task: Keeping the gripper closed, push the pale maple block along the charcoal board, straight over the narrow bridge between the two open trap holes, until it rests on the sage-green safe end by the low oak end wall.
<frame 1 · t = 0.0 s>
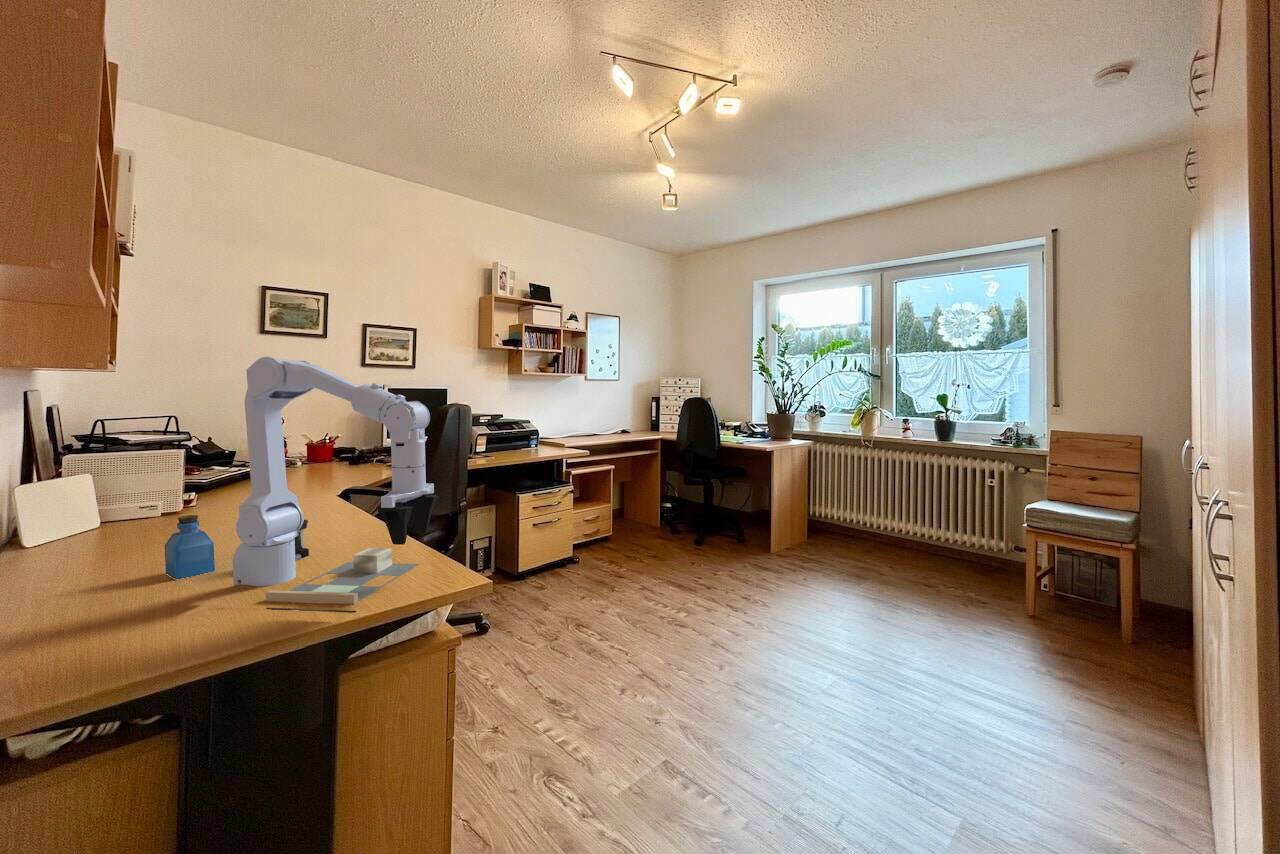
hand: (410, 538, 93), 10 cm above the table, tool pointing down, fingers open, 7 cm apart
maple block: (373, 568, 102), point 1 cm above the table, touching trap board
perfume bottle: (190, 574, 104), on the table
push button: (291, 563, 111), on the table
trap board: (351, 588, 95), on the table
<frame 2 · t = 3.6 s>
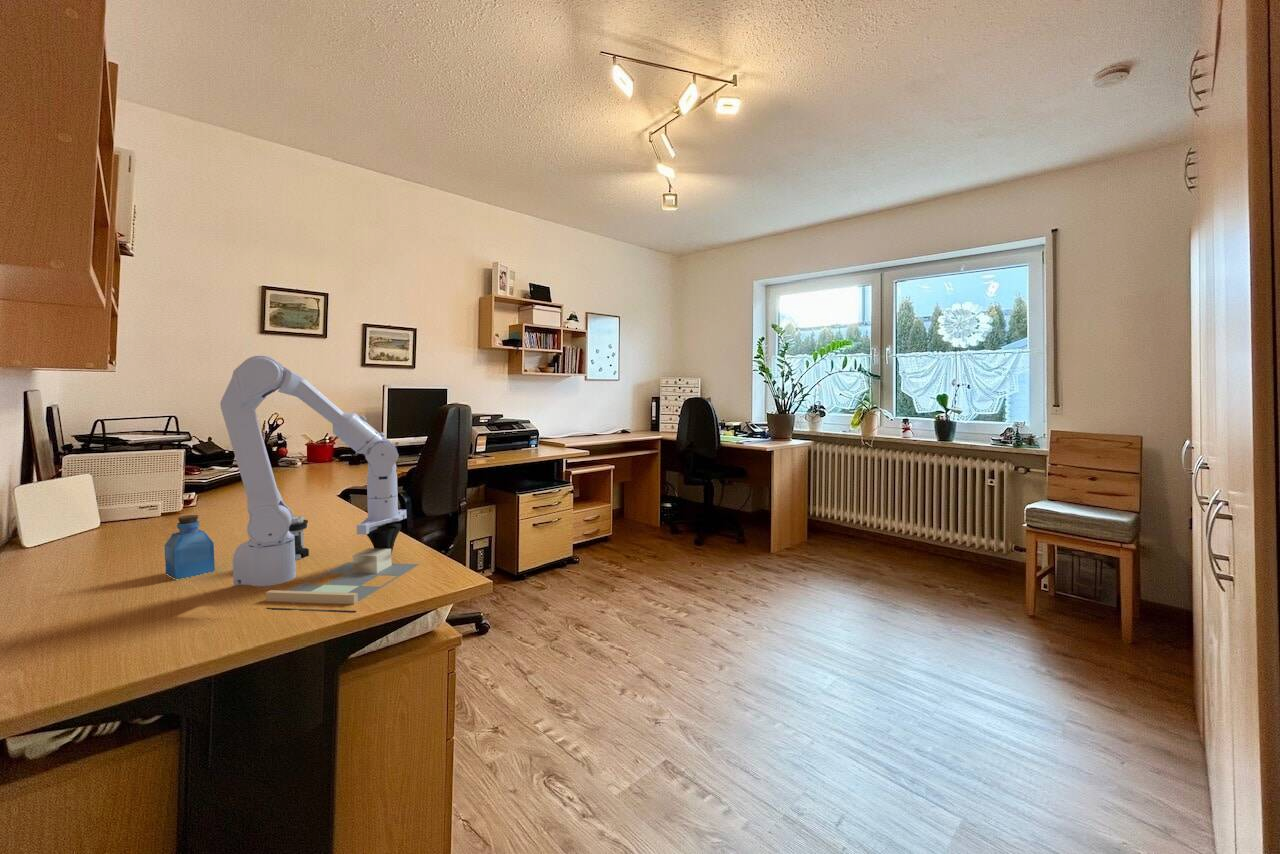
hand: (384, 559, 106), 2 cm above the table, tool pointing down, fingers closed
maple block: (372, 568, 102), point 2 cm above the table, touching gripper
everything else where it was.
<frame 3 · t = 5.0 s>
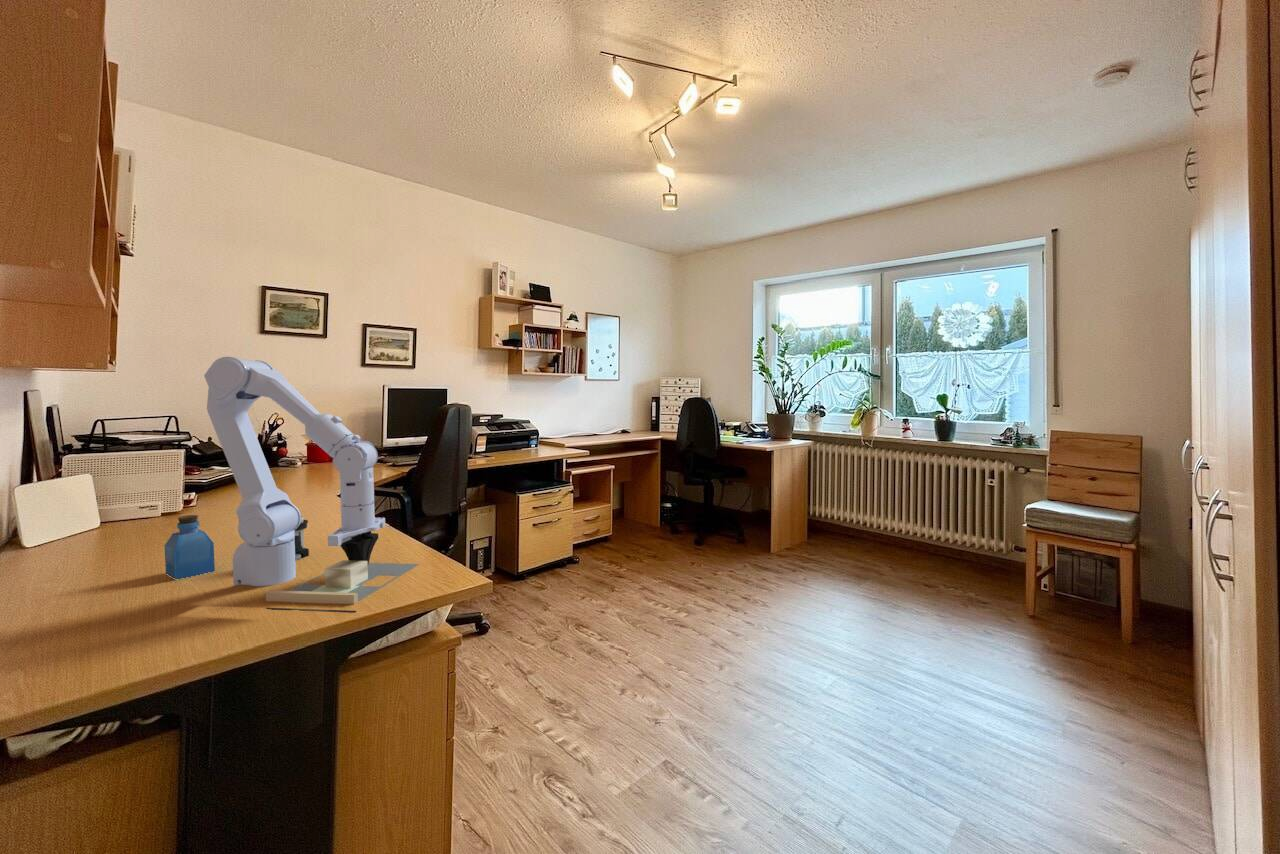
hand: (359, 572, 98), 2 cm above the table, tool pointing down, fingers closed
maple block: (347, 583, 94), point 2 cm above the table, touching gripper, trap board
everything else where it was.
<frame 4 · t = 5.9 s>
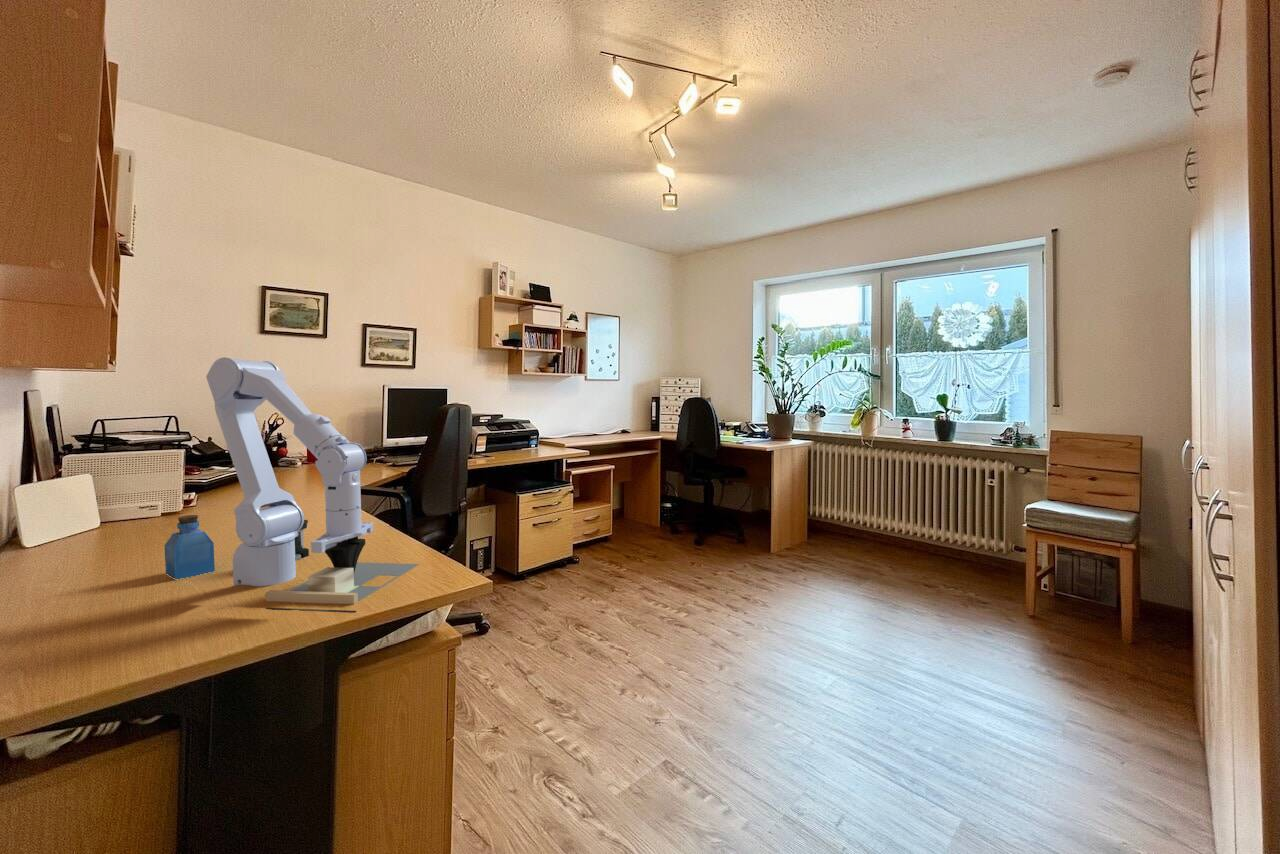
hand: (345, 579, 94), 2 cm above the table, tool pointing down, fingers closed
maple block: (331, 591, 90), point 2 cm above the table, touching gripper
everything else where it was.
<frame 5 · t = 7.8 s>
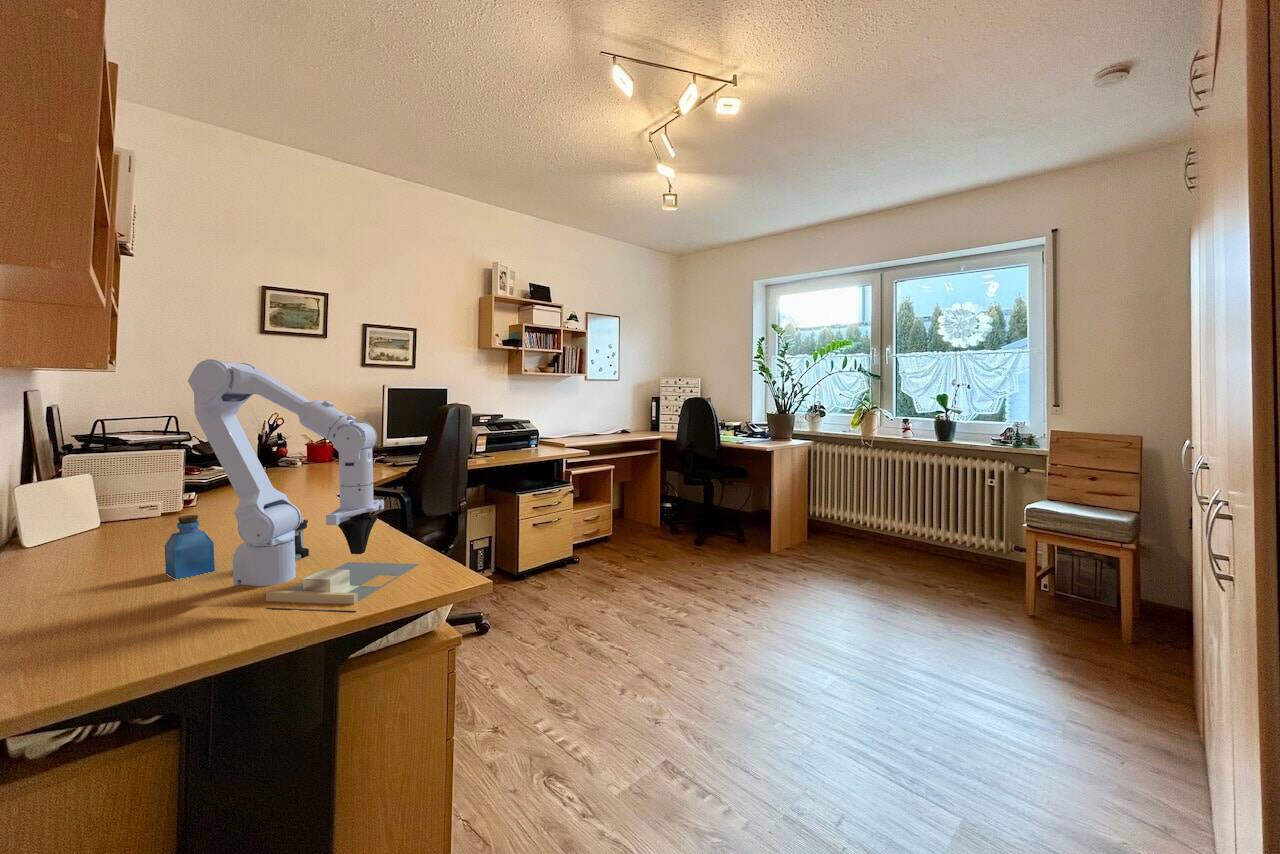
hand: (357, 553, 97), 6 cm above the table, tool pointing down, fingers closed
maple block: (327, 593, 89), point 1 cm above the table, touching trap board
everything else where it was.
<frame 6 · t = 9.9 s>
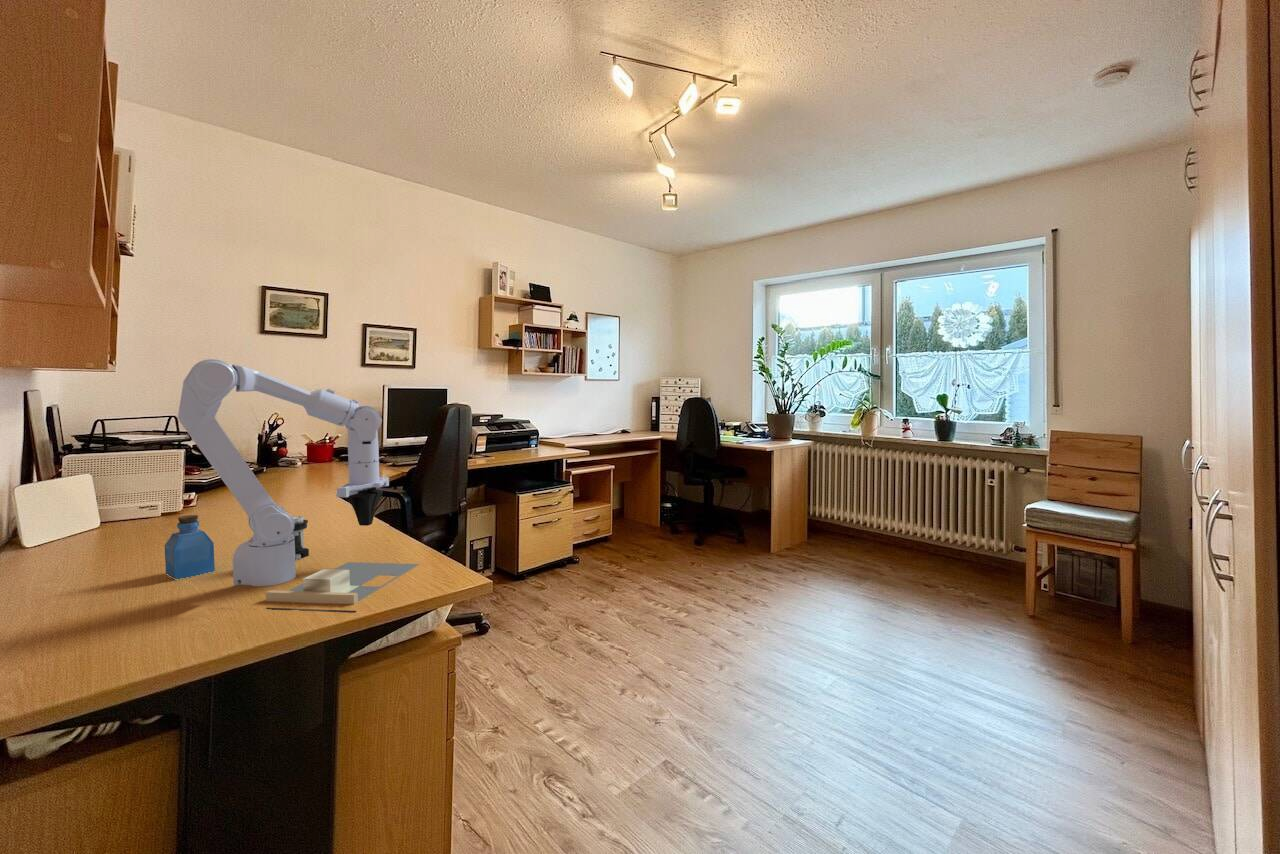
hand: (365, 524, 107), 9 cm above the table, tool pointing down, fingers closed
nothing on the table moved.
at the end: maple block 0.2 cm from the target spot, point 1.5 cm above the table; maple block tilted 0° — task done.
